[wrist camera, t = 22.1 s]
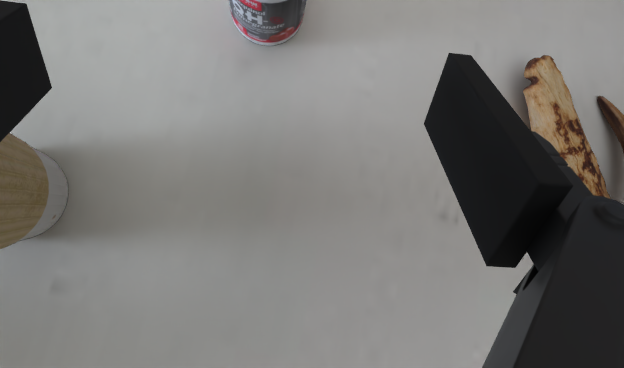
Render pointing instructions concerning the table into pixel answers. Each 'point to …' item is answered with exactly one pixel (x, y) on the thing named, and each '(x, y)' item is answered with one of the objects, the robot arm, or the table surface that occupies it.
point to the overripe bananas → (566, 121)
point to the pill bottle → (267, 19)
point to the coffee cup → (28, 191)
